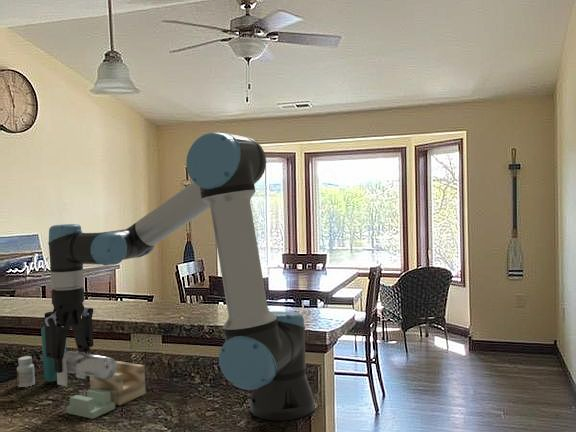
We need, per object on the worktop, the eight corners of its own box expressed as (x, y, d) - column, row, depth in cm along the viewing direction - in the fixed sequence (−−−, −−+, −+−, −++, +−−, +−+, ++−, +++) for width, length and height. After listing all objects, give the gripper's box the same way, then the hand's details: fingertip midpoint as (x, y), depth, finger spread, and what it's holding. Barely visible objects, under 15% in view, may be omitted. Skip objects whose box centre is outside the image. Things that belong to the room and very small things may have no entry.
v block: (115, 408, 142) (114, 392, 142) (92, 419, 136) (91, 402, 136) (89, 402, 146) (88, 387, 146) (66, 412, 140) (65, 396, 140)
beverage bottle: (59, 386, 160) (56, 314, 159) (38, 386, 161) (34, 314, 160) (73, 379, 166) (69, 309, 165) (52, 378, 167) (48, 309, 166)
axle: (117, 375, 140) (116, 355, 139) (101, 382, 135) (99, 360, 135) (76, 368, 146) (75, 348, 146) (60, 374, 142) (58, 354, 142)
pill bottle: (20, 383, 164) (19, 356, 164) (37, 382, 164) (35, 355, 164) (15, 388, 160) (13, 360, 159) (32, 387, 160) (30, 359, 160)
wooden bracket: (145, 393, 152) (144, 365, 152) (119, 405, 144) (118, 375, 144) (117, 388, 157) (116, 360, 156) (90, 399, 149) (89, 370, 148)
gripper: (85, 281, 152) (89, 368, 154) (25, 292, 137) (30, 390, 138) (106, 282, 149) (110, 372, 150) (46, 294, 133) (51, 395, 134)
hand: (72, 380), depth 144 cm, fingers closed on axle, 5 cm apart
